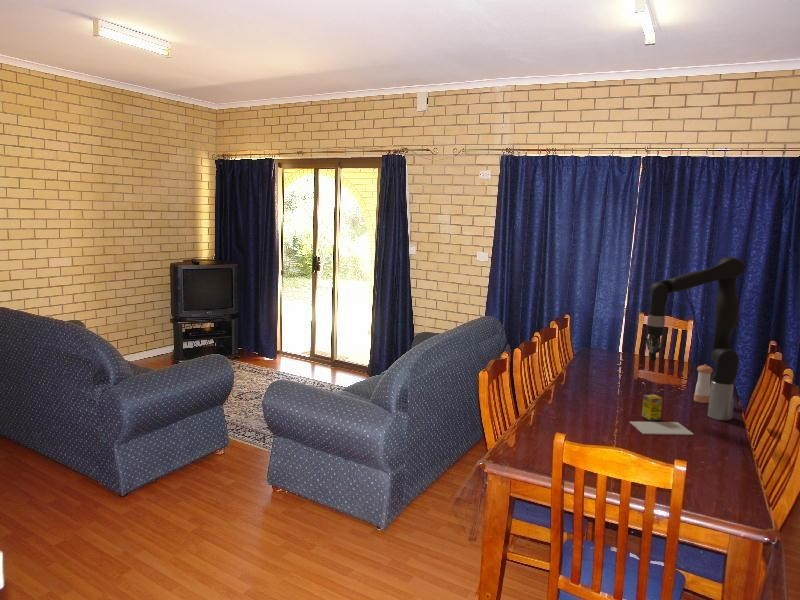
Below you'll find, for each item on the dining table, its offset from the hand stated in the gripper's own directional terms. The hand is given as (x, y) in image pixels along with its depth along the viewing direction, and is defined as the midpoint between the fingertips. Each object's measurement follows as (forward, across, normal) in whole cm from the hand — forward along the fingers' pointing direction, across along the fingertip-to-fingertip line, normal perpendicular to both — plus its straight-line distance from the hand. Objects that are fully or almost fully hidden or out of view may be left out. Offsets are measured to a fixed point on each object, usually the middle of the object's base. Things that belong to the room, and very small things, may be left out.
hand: (652, 360), depth 273 cm
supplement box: (+25, -12, +4) cm, 28 cm away
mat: (+25, -24, +5) cm, 35 cm away
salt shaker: (+25, +16, -35) cm, 46 cm away
